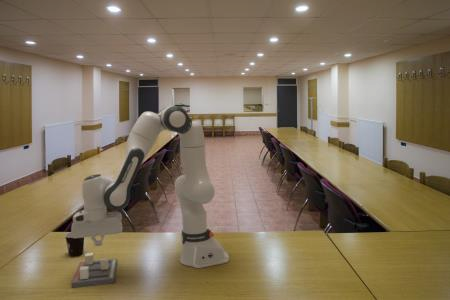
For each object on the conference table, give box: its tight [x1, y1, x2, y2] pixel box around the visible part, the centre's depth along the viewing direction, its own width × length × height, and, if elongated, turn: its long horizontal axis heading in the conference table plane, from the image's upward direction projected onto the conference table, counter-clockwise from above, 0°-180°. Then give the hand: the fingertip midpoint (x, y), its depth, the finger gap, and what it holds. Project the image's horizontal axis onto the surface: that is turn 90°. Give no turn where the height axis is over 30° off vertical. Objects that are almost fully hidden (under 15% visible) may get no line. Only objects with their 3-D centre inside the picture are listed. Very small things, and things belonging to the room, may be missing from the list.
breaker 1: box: [80, 266, 89, 279], centre depth 147 cm, size 3×3×4 cm
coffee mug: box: [64, 231, 85, 258], centre depth 175 cm, size 12×9×10 cm
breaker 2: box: [84, 252, 95, 265], centre depth 160 cm, size 3×3×4 cm
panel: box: [71, 258, 118, 289], centre depth 155 cm, size 16×20×2 cm
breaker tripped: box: [99, 257, 109, 270], centre depth 155 cm, size 3×3×4 cm
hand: (98, 245), depth 154 cm, fingers closed
